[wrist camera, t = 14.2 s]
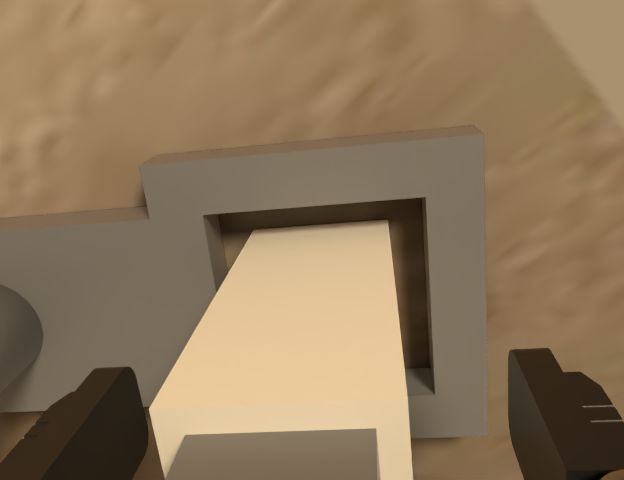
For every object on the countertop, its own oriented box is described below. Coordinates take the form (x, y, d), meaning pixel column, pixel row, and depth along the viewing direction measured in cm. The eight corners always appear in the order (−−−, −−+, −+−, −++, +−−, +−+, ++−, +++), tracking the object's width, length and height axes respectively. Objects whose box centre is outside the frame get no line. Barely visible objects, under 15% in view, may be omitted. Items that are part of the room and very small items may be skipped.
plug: (271, 347, 19) (153, 724, 9) (253, 229, 18) (91, 505, 7) (396, 340, 18) (433, 732, 8) (387, 219, 17) (419, 499, 7)
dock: (-35, 425, 21) (-487, 862, 10) (-122, 181, 18) (-890, 410, 7) (479, 406, 19) (638, 934, 8) (473, 125, 16) (713, 328, 5)
